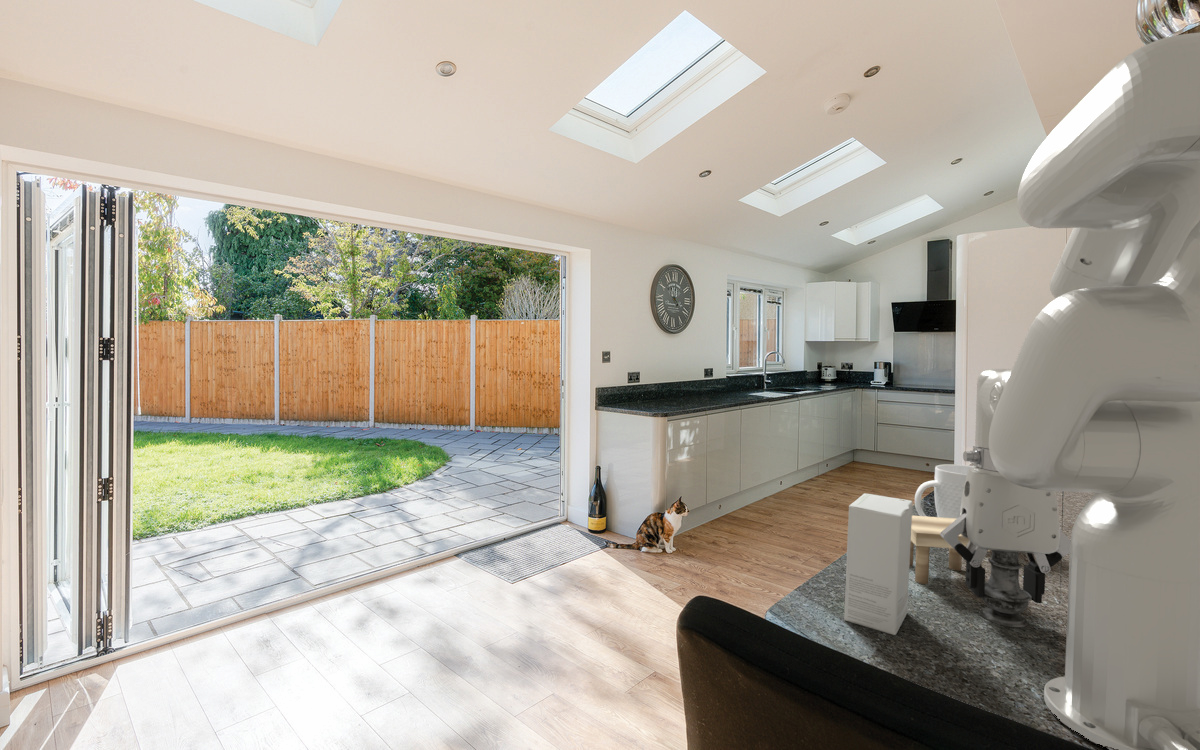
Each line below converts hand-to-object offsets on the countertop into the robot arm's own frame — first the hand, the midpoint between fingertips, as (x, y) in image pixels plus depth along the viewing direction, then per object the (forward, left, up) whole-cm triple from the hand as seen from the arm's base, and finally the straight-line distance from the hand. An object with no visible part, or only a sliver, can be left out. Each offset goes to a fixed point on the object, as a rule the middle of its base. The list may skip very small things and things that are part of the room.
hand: (1003, 594), depth 74 cm
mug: (+37, -8, -3) cm, 38 cm away
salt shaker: (0, 0, -3) cm, 3 cm away
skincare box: (-4, +16, -3) cm, 17 cm away
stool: (+14, +3, -3) cm, 15 cm away
